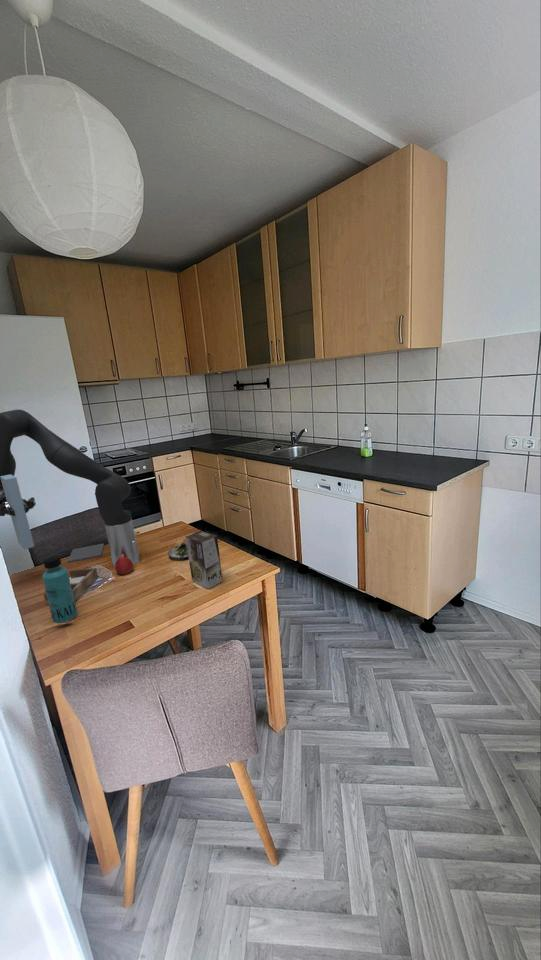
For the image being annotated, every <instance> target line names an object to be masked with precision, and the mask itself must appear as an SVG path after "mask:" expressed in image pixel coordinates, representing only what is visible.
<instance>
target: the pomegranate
mask: <svg viewBox="0 0 541 960" xmlns="http://www.w3.org/2000/svg"><path fill="white" fill-rule="evenodd" d="M133 568H134V564H133V563H132V561H131V559H129V558H127V557H125V556H124V554H123V555H121V557H120V558H119V559H118V560H117V561H116V563H115V567H114V569H115V572H116V573H117V574H119V575H122V576H123V575H125V576H126V575H127V574H130V573H132V570H133Z"/></svg>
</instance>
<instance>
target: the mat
mask: <svg viewBox="0 0 541 960" xmlns="http://www.w3.org/2000/svg"><path fill="white" fill-rule="evenodd" d="M104 545H105V544H104V543H97V544H93V545H88V546H87V545H86V546H83V547H77V548H73V549H72V550H71V553H70V555H69V556H68V557H69V558H68V559H67V563H74V562H79V561H83V560H89V559H94V558H97V557H98V558H99V557H102V556H103V551H104Z"/></svg>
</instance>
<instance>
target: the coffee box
mask: <svg viewBox="0 0 541 960" xmlns="http://www.w3.org/2000/svg"><path fill="white" fill-rule="evenodd" d="M184 538H185V539H184V540H185V544H186V545H187V551H188V557H187V558H188V563H189V570H190V574H191V582H193V583H195V584H197V585H199V586H201V587H203V588H206V589H207V588H208V589H207V590H209V588H210V589H211V588H214V587H215V586H217V585H218V583H219V584H220V582H221V583H223V581H224V580H223V573H222V564H221V556H220V550H219V549H220V548H219V540H218V535H216V534H212V533H209V532H206V531H203V530H198V531H195V532H192V533H191V534H189V535H186V536H185V537H184ZM216 584H217V585H216Z"/></svg>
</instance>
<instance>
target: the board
mask: <svg viewBox="0 0 541 960" xmlns="http://www.w3.org/2000/svg"><path fill="white" fill-rule="evenodd" d="M0 478H1V482H2V485H3V489H4V493H5V496H6V500H7V503H8V504H9V506H10V508H12V509H14V512H15V516H12V515H10V518H11V521H12V525H13V529H14V531H15V535H16V536H15V537H16V539H17V540H16V541H17V543H18V544H19V546H20V547H21V548H22V549H23V550H27V549H30V548H34V547H35V543H34V539H33V535H32V531H31V529H30V524H29V520H28V517H27V513H25V509H24V505H23V501H22V499H23V498H22V494H21V490H20V486H19V482H18V478H17V477H16V476H15V475H14V476H13V475H11V474H10V475H5V476H0Z"/></svg>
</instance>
